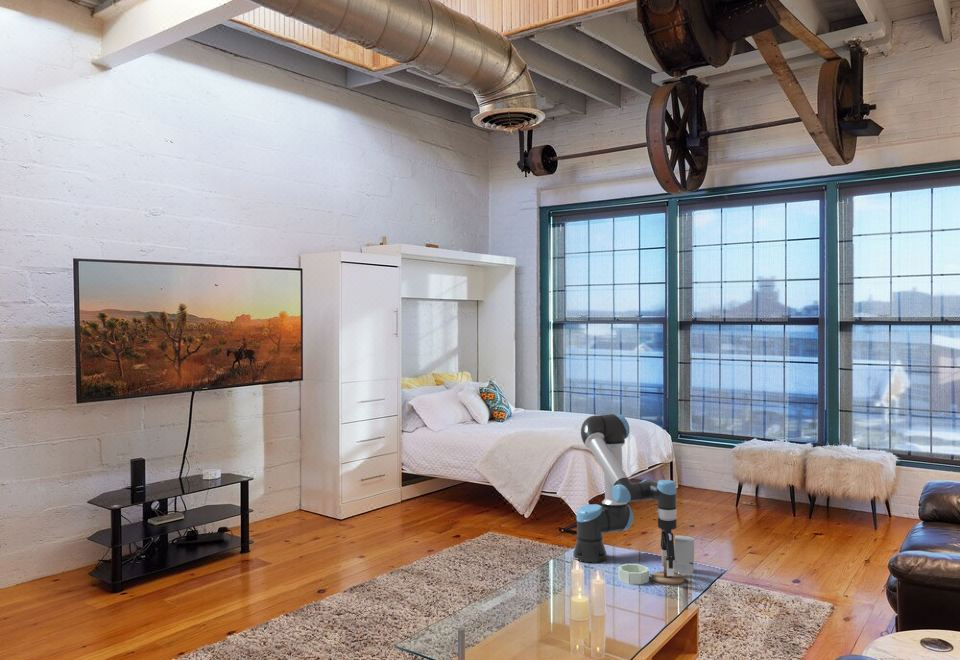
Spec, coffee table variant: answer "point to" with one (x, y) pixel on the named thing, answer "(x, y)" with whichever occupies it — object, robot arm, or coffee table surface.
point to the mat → (663, 584)
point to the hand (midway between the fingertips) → (667, 570)
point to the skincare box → (684, 554)
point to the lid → (667, 580)
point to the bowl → (633, 573)
